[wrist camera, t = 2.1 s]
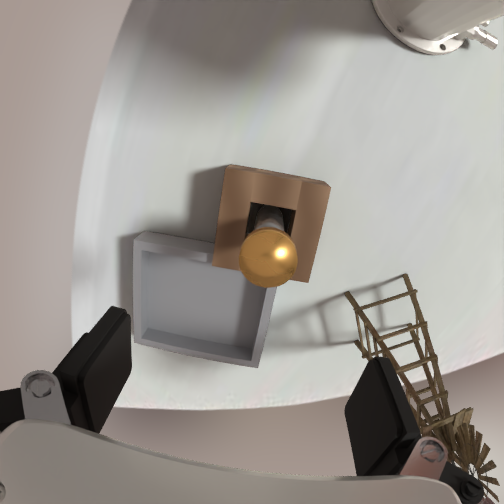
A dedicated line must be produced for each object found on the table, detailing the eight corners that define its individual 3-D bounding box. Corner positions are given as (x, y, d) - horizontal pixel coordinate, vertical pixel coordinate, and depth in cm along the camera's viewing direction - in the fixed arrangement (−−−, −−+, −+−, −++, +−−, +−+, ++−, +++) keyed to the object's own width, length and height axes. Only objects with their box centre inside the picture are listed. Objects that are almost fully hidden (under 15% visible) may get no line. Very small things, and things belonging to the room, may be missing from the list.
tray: (280, 254, 36) (281, 266, 33) (259, 352, 41) (257, 368, 38) (144, 230, 36) (133, 239, 33) (142, 328, 41) (134, 342, 38)
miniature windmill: (411, 327, 38) (506, 519, 10) (353, 346, 40) (410, 561, 12) (406, 269, 36) (549, 473, 8) (342, 289, 37) (424, 539, 9)
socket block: (324, 181, 33) (330, 187, 29) (304, 267, 36) (308, 282, 32) (230, 164, 33) (225, 167, 29) (218, 252, 36) (211, 265, 32)
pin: (292, 202, 34) (303, 238, 22) (284, 239, 35) (290, 291, 24) (253, 195, 34) (243, 228, 22) (247, 232, 35) (234, 282, 24)
